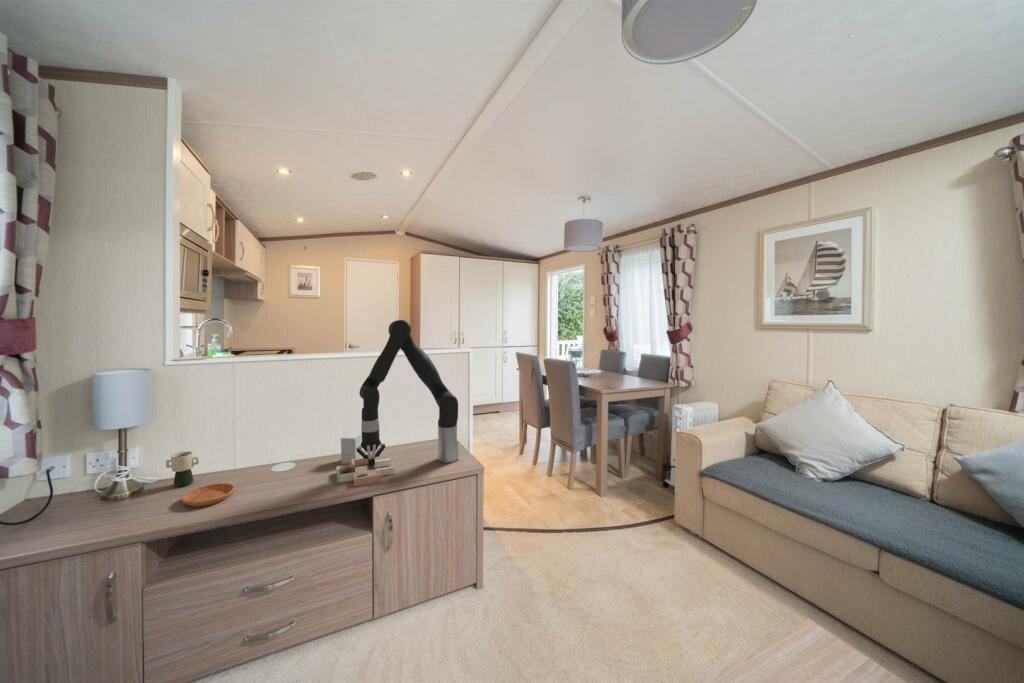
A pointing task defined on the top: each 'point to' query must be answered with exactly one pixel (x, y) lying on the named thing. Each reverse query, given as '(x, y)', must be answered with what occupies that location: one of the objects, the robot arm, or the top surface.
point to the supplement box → (350, 447)
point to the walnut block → (347, 468)
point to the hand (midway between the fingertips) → (371, 466)
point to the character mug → (182, 467)
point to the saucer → (208, 494)
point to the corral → (366, 479)
